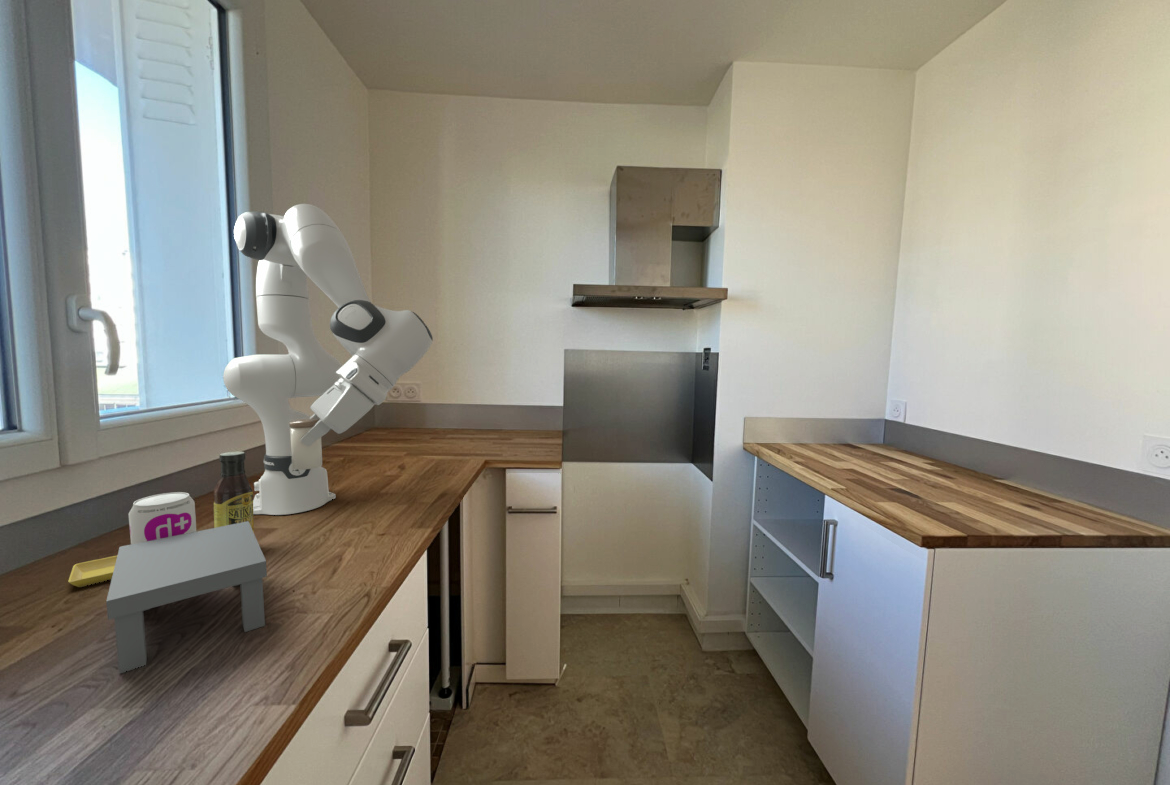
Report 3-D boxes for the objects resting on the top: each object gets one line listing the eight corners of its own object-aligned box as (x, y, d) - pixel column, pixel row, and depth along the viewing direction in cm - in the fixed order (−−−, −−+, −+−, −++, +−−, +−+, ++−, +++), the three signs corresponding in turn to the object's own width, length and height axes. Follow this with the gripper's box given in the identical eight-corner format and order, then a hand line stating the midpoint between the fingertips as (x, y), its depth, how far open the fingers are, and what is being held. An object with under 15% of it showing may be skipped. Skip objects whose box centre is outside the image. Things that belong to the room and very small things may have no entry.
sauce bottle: (233, 559, 87) (227, 458, 85) (206, 555, 88) (200, 456, 86) (263, 544, 93) (258, 450, 91) (238, 541, 94) (233, 449, 93)
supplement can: (203, 582, 78) (197, 498, 77) (137, 601, 72) (129, 510, 71) (195, 566, 84) (190, 488, 82) (133, 583, 78) (125, 498, 76)
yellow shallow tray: (142, 560, 87) (141, 549, 87) (141, 576, 81) (140, 565, 80) (74, 575, 81) (73, 564, 81) (68, 594, 75) (67, 582, 74)
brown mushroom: (289, 465, 79) (286, 420, 78) (319, 461, 82) (317, 418, 81) (294, 471, 75) (292, 424, 75) (325, 466, 79) (324, 421, 78)
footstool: (125, 608, 70) (119, 546, 69) (251, 574, 81) (248, 521, 80) (113, 678, 56) (106, 601, 55) (269, 625, 66) (266, 560, 65)
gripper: (339, 367, 89) (282, 420, 85) (359, 373, 73) (290, 439, 68) (364, 389, 93) (310, 441, 88) (388, 399, 76) (325, 463, 71)
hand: (302, 440), depth 78 cm, fingers closed on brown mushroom, 4 cm apart
